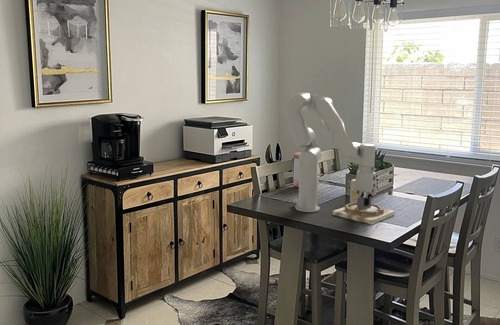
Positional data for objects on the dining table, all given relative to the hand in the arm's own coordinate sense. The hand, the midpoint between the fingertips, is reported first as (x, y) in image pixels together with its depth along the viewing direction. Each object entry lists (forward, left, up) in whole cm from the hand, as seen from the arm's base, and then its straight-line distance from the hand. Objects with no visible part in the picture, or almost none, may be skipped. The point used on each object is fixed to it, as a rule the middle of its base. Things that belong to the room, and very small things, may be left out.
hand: (364, 204), depth 254 cm
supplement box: (-13, +16, -5) cm, 21 cm away
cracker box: (-56, +24, -5) cm, 61 cm away
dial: (0, 0, -3) cm, 3 cm away
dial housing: (0, 0, -5) cm, 5 cm away
